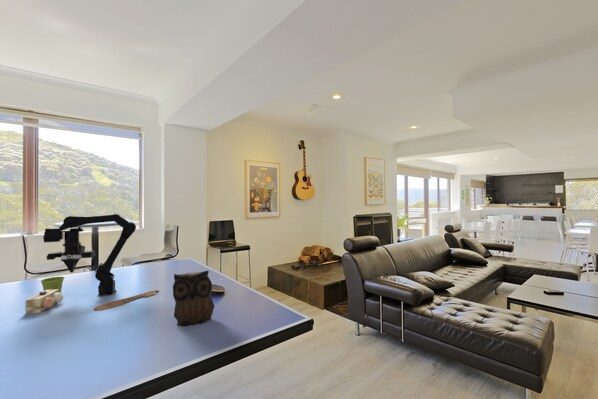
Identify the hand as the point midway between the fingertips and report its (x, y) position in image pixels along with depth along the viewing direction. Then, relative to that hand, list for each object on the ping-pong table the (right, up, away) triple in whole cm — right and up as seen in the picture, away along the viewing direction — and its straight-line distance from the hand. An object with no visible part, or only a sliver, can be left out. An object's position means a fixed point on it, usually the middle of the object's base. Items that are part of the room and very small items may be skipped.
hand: (72, 272), depth 141 cm
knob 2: (-3, -12, -8) cm, 15 cm away
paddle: (+31, -14, -3) cm, 33 cm away
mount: (-4, -13, -12) cm, 18 cm away
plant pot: (-13, -13, +4) cm, 19 cm away
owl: (+71, -12, -27) cm, 77 cm away
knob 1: (-1, -12, -15) cm, 19 cm away
